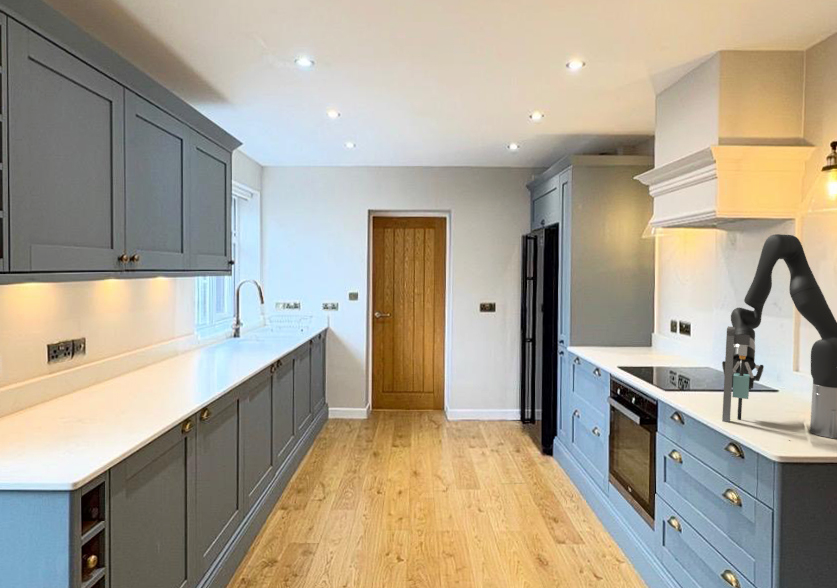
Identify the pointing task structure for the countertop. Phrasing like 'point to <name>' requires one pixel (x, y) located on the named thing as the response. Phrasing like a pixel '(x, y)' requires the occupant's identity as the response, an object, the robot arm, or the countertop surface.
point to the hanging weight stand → (730, 341)
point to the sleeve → (741, 386)
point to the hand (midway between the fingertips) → (741, 387)
